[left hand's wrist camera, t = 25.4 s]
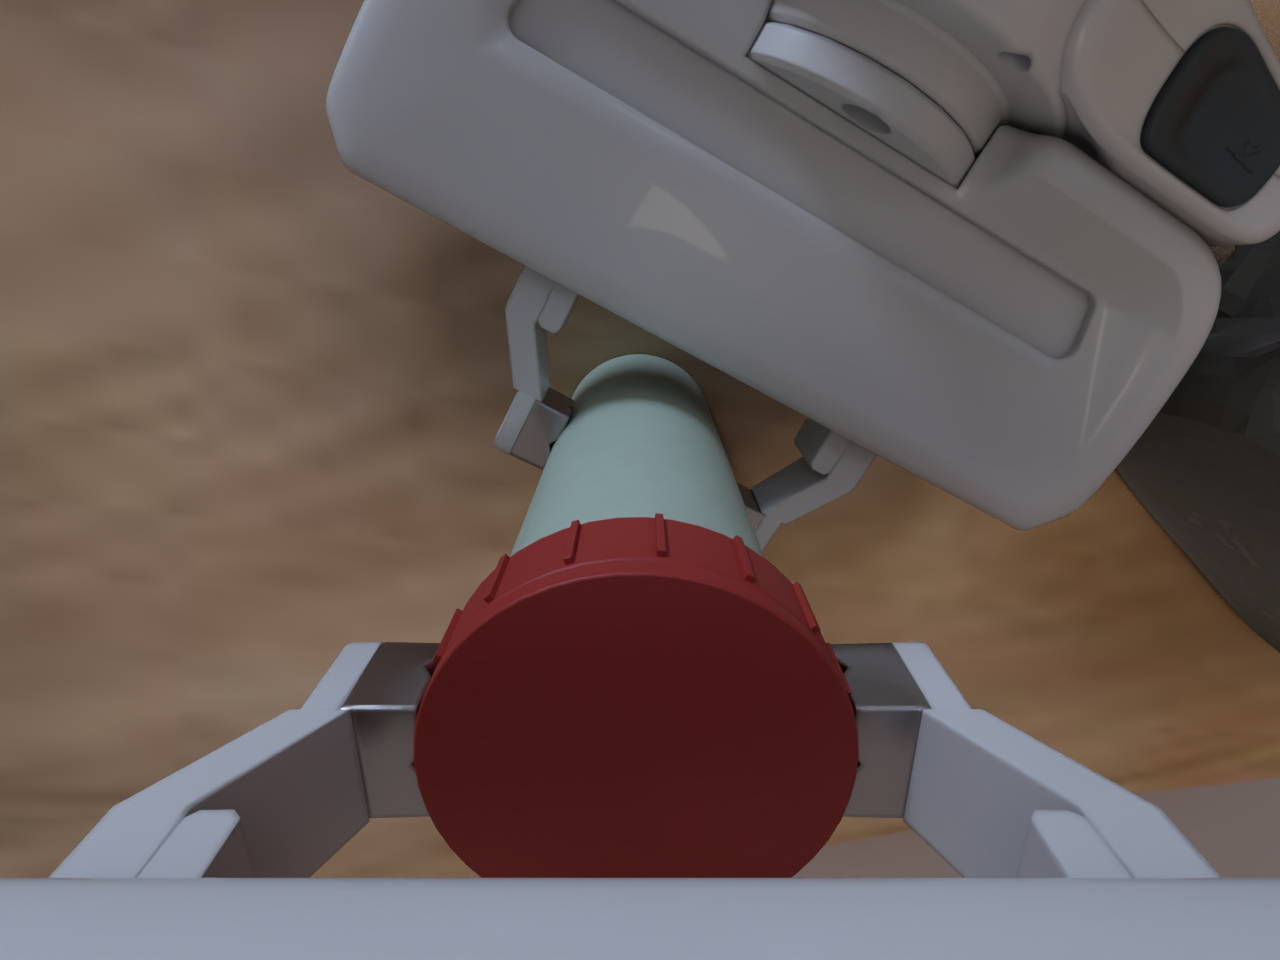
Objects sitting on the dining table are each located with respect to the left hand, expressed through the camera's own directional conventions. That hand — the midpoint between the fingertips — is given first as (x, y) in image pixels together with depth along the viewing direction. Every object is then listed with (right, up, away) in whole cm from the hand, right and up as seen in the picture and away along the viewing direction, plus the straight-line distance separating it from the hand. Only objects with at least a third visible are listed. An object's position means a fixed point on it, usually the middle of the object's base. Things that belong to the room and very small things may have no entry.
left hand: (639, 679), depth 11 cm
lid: (0, -1, -1) cm, 2 cm away
